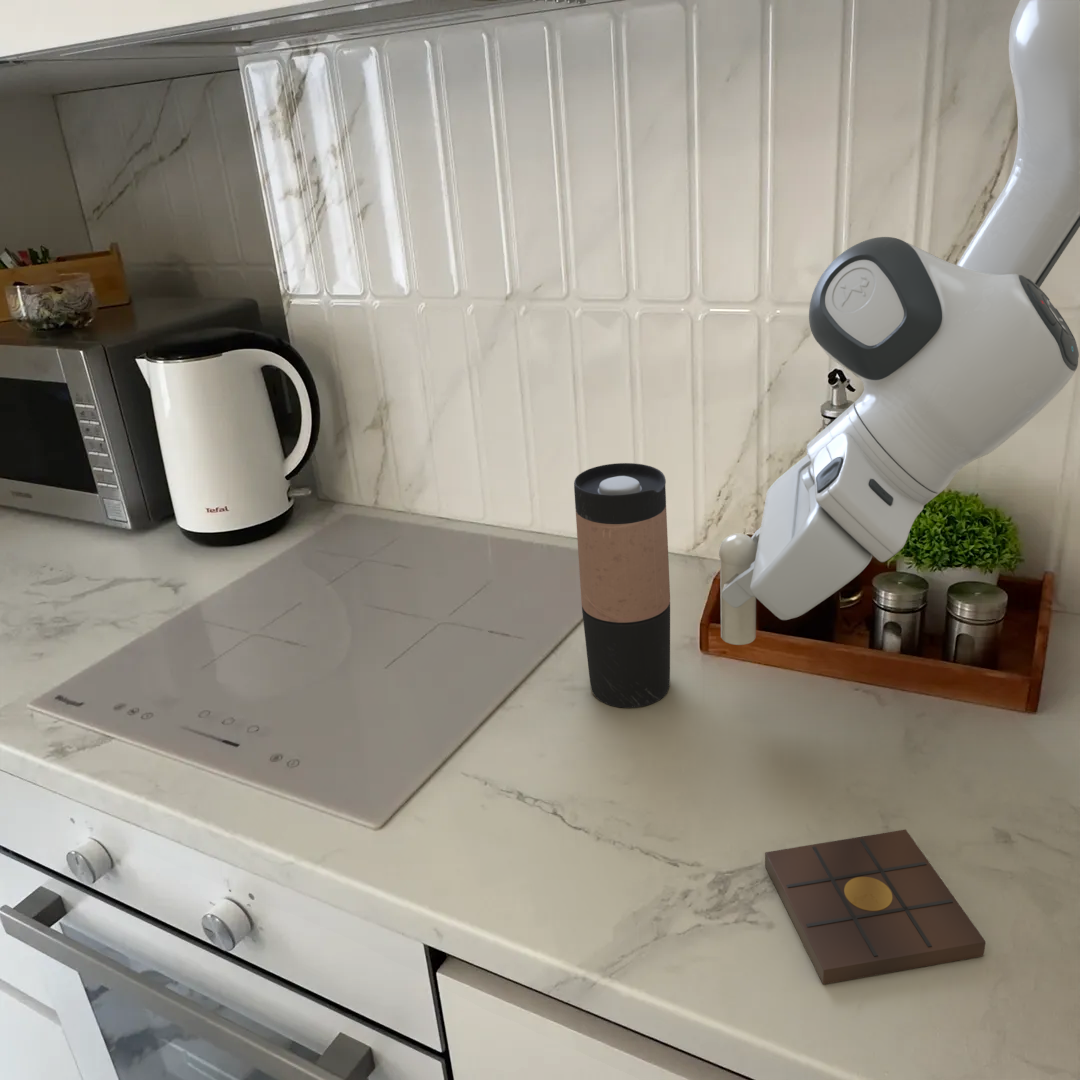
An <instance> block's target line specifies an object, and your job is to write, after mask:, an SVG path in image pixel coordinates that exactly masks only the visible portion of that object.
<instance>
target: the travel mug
mask: <svg viewBox="0 0 1080 1080" xmlns="http://www.w3.org/2000/svg"><path fill="white" fill-rule="evenodd" d="M666 483H667V480H666V476H665V474H664V473H663V472H662V471H661V470H660V469H658V468H656V467H654V466H651V465H647V464H643V463H634V462H633V463H632V462H619V463H618V462H617V463H608V464H602V465H598V466H595V467H591V468H588V469H586V470H584V471H582V472H581V473H579V474H578V475H577V476H576V477H575V478H574V481H573V490H574V506H575V507H574V509H575V522H576V523H575V524H576V536H577V537H576V539H577V540H576V541H577V554H578V555H577V556H578V569H579V571H578V572H579V584H580V587H579V588H580V601H581V603H580V604H581V612H582V613H581V614H582V621H583V631H584V640H585V648H586V658H587V668H588V676H589V684H590V689H591V692H592V694H593V695H594V697H595V698H596V699H598V701H600V702H602V703H603V704H605V705H609V706H612V707H615V708H623V709H625V708H626V709H633V708H634V709H635V708H641V707H646V706H649V705H652V704H654V703H657V702H658V701H661V699H663V698H664V697H665V696H666V695H667V693H668V691H669V689H670V683H671V588H670V587H671V586H670V585H671V584H670V563H669V561H670V559H669V539H668V536H669V535H668V520H667V519H668V517H667V516H668V515H667V493H666V491H667V489H666Z"/></svg>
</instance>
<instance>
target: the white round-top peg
mask: <svg viewBox="0 0 1080 1080" xmlns="http://www.w3.org/2000/svg"><path fill="white" fill-rule="evenodd" d="M751 537H752V536H749V535H748V534H746V533H741V532H735V533H731V534H729V535H727V536H726V537H724V539H723V540H722V541H721V542H720V544H719V547H718V556H719V575H720V576H719V579H720V581H719V582H720V584H719V586H720V587H719V588H720V638H721V639H722V641H723V642H725V643H727V644H729V645H735V646H743V645H744V646H745V645H749V644H751V643H753V642H754V641H755V640H756V638H757V598H756V597H755V596H754V597H751V598H750V599H749V600H747V601H746V602H745V603H744V604H742V605H741V606H740V607H738V608H734V607H732V606H731V605H729V604H728V603H727V602H726V601H725V600H724V599H723V598H722V595H721V594H722V590H723V586H724V584H725V583H726V582H727V581H729V580H730V579H731V578H732V577H733V576H734V575H735V574H738V575H740V574H742V573H743V572H745V571H746V570H748V569H749V568H750V565H751V564H752V563H753V562H754V561H755V558H756V552H757V546H756V543H755V542H754V540H753V539H752V538H751Z"/></svg>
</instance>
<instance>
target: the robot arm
mask: <svg viewBox="0 0 1080 1080" xmlns="http://www.w3.org/2000/svg"><path fill="white" fill-rule="evenodd" d="M1008 60H1009V67H1010V73H1011V77H1012V84H1013V88H1014V94H1015V102H1016V114H1017V144H1016V150H1015V157H1014V161H1013V165H1012V168H1011V171H1010V174H1009V176H1008V178H1007V181H1006V183H1005V185H1004V187H1003V188H1002V190H1001V192H1000V194H999V195H998V197H997V199H996V200H995V202H994V203H993V205H992V207H991V208H990V210H989V211H988V213H987V214H986V217H985V218H984V220H983V221H982V223H981V225H980V226H979V228H978V229H977V231H976V233H974V236H973V237H972V240H971V241H970V242H969V244H968V245H967V247H966V249H965V250H964V252H963V254H962V256H960V259H959V260H958V261H957V263H956V264H955V263H953V262H950V261H947V260H945V259H942V258H941V257H938V256H936V255H934V254H932V253H930V252H928V251H926V250H924V249H922V248H920V247H918V246H915V245H913V244H912V243H909V242H907V241H905V240H902V239H900V238H896V237H893V236H877V237H872V238H869V239H866V240H863V241H861V242H858V243H856V244H854V245H852V246H850V247H848V248H847V249H845V250H844V251H843V252H842V253H841V254H839V255H838V256H837V257H836V258H834V260H833V261H832V262H831V263H830V264H829V265H828V266H827V267H826V268H825V270H824V271H823V273H822V274H821V276H820V277H819V279H818V281H817V283H816V285H815V287H814V288H813V292H812V295H811V298H810V302H809V309H808V323H809V329H810V332H811V334H812V336H813V338H814V339H815V341H816V343H817V344H818V345H819V346H820V348H821V349H822V350H823V352H824V353H825V354H826V355H827V356H828V357H829V358H830V359H831V360H833V362H835V363H836V364H838V365H839V366H842V367H843V368H845V369H846V370H848V371H849V372H850V373H852V374H853V375H854V376H855V377H857V378H859V380H860V381H861V383H862V385H863V391H862V393H861V395H860V396H859V397H858V398H857V399H856V400H855V401H854V402H853V403H851V405H850V406H849V407H848V408H846V409H845V410H844V411H843V412H842V413H841V414H839V415H838V416H837V417H836V418H835V419H833V420H832V422H830V423H829V424H828V425H827V426H826V427H824V429H822V430H821V431H820V432H819V433H818V434H817V435H816V436H814V437H813V438H812V439H811V440H810V441H809V442H808V443H807V444H806V453H807V454H806V455H805V456H803V457H802V458H800V460H798V461H796V463H795V464H793V465H792V466H790V468H788V469H787V470H786V471H785V472H783V474H781V475H780V476H779V477H778V478H776V479H775V481H773V483H772V484H771V486H770V487H769V488H768V489H767V491H766V494H765V501H764V508H763V512H762V518H761V523H760V527H759V528H758V529H757V530H755V532H754V533H753V534H752V536H750V537H751V538H752V539H753V540H754V542H755V543H756V546H757V552H756V558H755V561H754V562H753V563H752V564H751V565H750V568H749V569H748V570H746V571H745V572H743V573H742V574H740V575H738V574H735V575H734V576H733V577H732V578H731V579H730V580H729V581H727V582H726V583H725V584H724V586H723V590H722V594H721V593H720V596H721V595H722V598H723V599H724V600H725V601H726V602H727V603H728V604H729V605H731V606H732V607H734V608H738V607H740V606H741V605H742V604H744V603H745V602H746V601H747V600H749V599H750V598H751V597H754V596H755V597H756V600H758V601H759V602H760V603H761V604H762V605H763V606H764V607H765V608H766V609H768V611H769V612H771V613H772V614H773V615H774V616H775V617H777V618H778V619H779V620H781V621H788V620H791V619H796V618H798V617H800V616H803V615H805V614H806V613H808V612H809V611H810V610H812V609H814V608H815V607H816V606H818V605H820V604H821V603H822V602H824V601H825V600H827V599H828V598H829V597H831V596H832V595H834V594H835V593H837V592H838V591H839V590H841V589H843V587H845V586H846V585H848V584H849V583H850V582H851V581H853V580H854V579H856V577H858V576H859V575H860V574H861V573H862V572H863V571H864V570H865V569H866V568H867V566H868V565H869V564H870V563H871V561H872V558H874V559H876V560H877V561H878V562H880V563H885V562H887V561H888V560H890V559H891V558H893V557H894V556H895V555H897V554H898V553H899V552H900V551H901V550H902V549H903V548H904V547H905V545H906V543H907V540H908V537H909V534H910V531H911V530H912V528H913V527H912V526H913V524H914V523H915V520H916V519H917V517H918V516H919V515H920V513H921V512H922V511H923V510H924V508H925V505H927V504H928V503H930V502H931V501H932V500H933V499H934V498H937V496H938V495H939V494H940V493H942V492H943V491H944V490H945V489H946V488H947V487H948V486H949V485H950V483H951V482H952V480H953V479H954V477H955V476H956V475H957V474H958V473H959V472H960V471H961V470H962V469H964V468H965V467H966V466H967V465H969V464H970V463H972V462H973V461H976V460H978V459H980V458H983V457H984V456H987V455H989V454H991V453H993V452H995V450H996V449H998V448H999V447H1000V446H1002V445H1003V444H1004V443H1005V442H1007V441H1008V440H1009V439H1010V438H1011V437H1013V436H1014V435H1015V434H1016V433H1017V432H1019V431H1020V430H1021V429H1022V428H1023V427H1025V425H1027V424H1028V423H1029V422H1030V421H1032V419H1033V418H1035V417H1036V416H1037V415H1038V414H1039V413H1040V412H1041V411H1042V410H1044V408H1045V407H1046V406H1047V405H1049V404H1050V403H1051V402H1052V401H1053V400H1054V399H1055V398H1056V397H1057V396H1058V395H1059V394H1060V393H1061V391H1062V390H1063V389H1065V387H1066V386H1067V384H1068V383H1069V382H1070V381H1071V379H1072V378H1073V376H1074V374H1075V373H1076V371H1077V369H1078V367H1079V358H1080V354H1079V353H1080V352H1079V347H1078V344H1077V341H1076V338H1075V336H1074V334H1073V332H1072V330H1071V329H1070V327H1069V325H1068V323H1067V322H1066V321H1065V318H1064V317H1063V316H1062V314H1061V313H1060V312H1059V310H1058V309H1057V308H1056V307H1055V306H1054V305H1053V303H1052V302H1051V300H1050V298H1049V297H1048V296H1047V293H1045V292H1044V290H1043V289H1041V286H1042V285H1043V283H1044V282H1045V280H1046V279H1047V277H1048V276H1049V274H1050V272H1051V271H1052V269H1053V268H1054V267H1055V265H1056V263H1057V262H1058V260H1059V259H1060V258H1061V256H1062V254H1063V253H1064V251H1065V250H1066V248H1067V247H1068V245H1069V244H1070V242H1071V241H1072V239H1073V238H1074V236H1075V235H1076V234H1077V231H1078V230H1079V229H1080V0H1019V2H1018V4H1017V5H1016V8H1015V11H1014V13H1013V16H1012V19H1011V22H1010V25H1009V34H1008Z"/></svg>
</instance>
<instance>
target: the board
mask: <svg viewBox="0 0 1080 1080" xmlns="http://www.w3.org/2000/svg"><path fill="white" fill-rule="evenodd" d="M764 866H765V869H766V871H767V873H768V875H769V877H770V879H771V881H772V883H773V885H774V888H775V889H776V892H777V893H778V896H779V897H780V900H781V901H782V904H783V905H784V908H785V910H786V912H787V915H788V916H789V918H790V920H791V922H792V924H793V925H794V928H795V930H796V932H797V935H798V937H799V938H800V940H801V943H802V944H803V946H804V948H805V950H806V952H807V954H808V957H809V959H810V961H811V963H812V966H813V967H814V970H815V971H816V973H817V975H818V977H819V979H820V981H821V984H822V985H828V984H834V983H839V982H845V981H851V980H856V979H862V978H867V977H873V976H879V975H884V974H890V973H891V974H892V973H895V972H903V971H907V970H912V969H918V968H924V967H929V966H934V965H935V966H936V965H940V964H946V963H947V964H948V963H952V962H957V961H958V962H959V961H964V960H968V959H974V958H975V959H976V958H980V957H984V956H985V948H986V940H985V938H984V937H983V936H982V934H981V933H980V932H979V930H978V929H977V927H976V926H975V924H974V923H973V922H972V920H971V919H970V917H969V916H968V915H967V913H966V912H965V910H964V909H963V907H962V906H961V905H960V904H959V902H958V900H957V899H956V898H955V896H954V895H953V893H952V892H951V891H950V889H949V887H948V886H947V885H946V884H945V882H944V880H942V878H941V877H940V875H939V874H938V872H937V871H936V870H935V868H934V867H933V866H932V864H931V862H930V861H929V860H928V858H927V857H926V856H925V854H924V853H923V851H922V850H921V848H920V847H919V846H918V844H917V843H916V841H915V840H914V839H913V837H912V836H911V834H910V833H909V831H908V830H907V829H900V830H893V831H887V832H880V833H874V834H869V835H862V836H857V837H850V838H844V839H838V840H832V841H826V842H820V843H814V844H807V845H801V846H795V847H790V848H789V847H788V848H783V849H777V850H771V851H765V852H764Z"/></svg>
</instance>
